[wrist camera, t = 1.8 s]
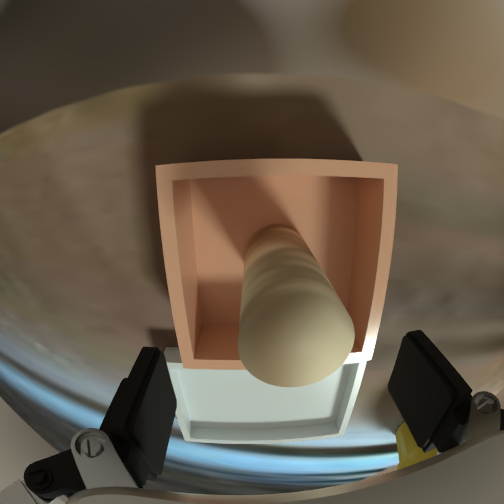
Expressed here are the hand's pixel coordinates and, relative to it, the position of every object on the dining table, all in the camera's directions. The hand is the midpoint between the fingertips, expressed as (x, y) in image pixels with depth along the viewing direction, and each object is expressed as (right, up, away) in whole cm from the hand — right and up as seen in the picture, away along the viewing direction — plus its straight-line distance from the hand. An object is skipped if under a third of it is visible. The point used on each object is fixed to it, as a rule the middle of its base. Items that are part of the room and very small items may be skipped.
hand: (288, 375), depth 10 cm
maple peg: (+1, +4, +13) cm, 14 cm away
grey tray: (0, -12, +19) cm, 22 cm away
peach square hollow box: (+1, +5, +14) cm, 15 cm away
